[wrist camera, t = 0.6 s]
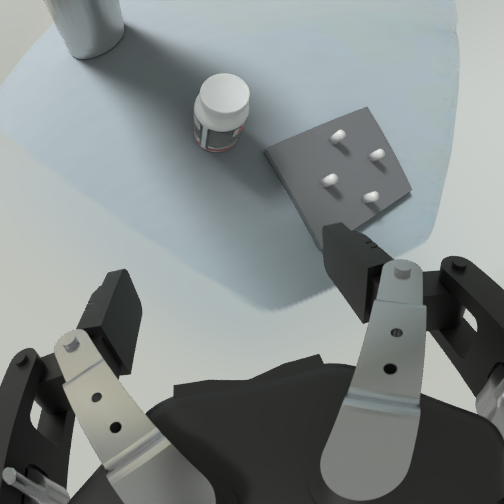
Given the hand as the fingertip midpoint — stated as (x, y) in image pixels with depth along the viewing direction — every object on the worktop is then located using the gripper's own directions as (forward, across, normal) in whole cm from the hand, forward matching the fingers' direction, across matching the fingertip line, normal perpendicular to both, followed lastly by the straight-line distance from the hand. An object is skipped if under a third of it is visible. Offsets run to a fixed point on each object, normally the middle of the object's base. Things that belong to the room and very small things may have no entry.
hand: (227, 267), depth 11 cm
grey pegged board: (+26, -18, +4) cm, 31 cm away
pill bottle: (+27, -2, -3) cm, 27 cm away
